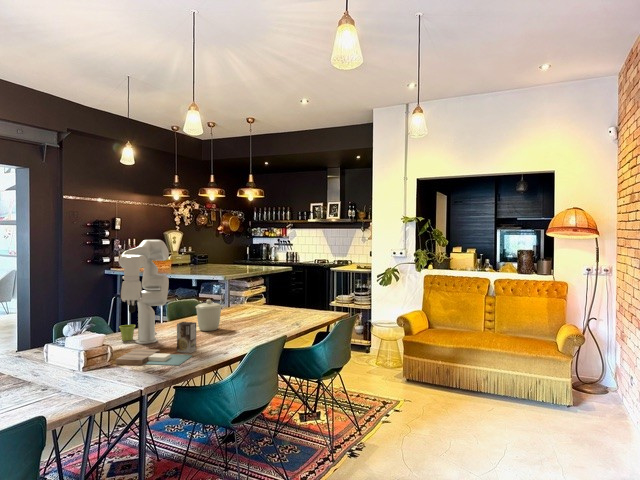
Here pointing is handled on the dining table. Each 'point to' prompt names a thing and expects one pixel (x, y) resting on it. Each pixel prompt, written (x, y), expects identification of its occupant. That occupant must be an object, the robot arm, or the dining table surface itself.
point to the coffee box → (186, 337)
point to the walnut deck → (136, 357)
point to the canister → (208, 315)
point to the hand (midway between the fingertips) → (132, 312)
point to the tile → (159, 357)
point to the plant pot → (127, 332)
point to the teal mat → (171, 360)
